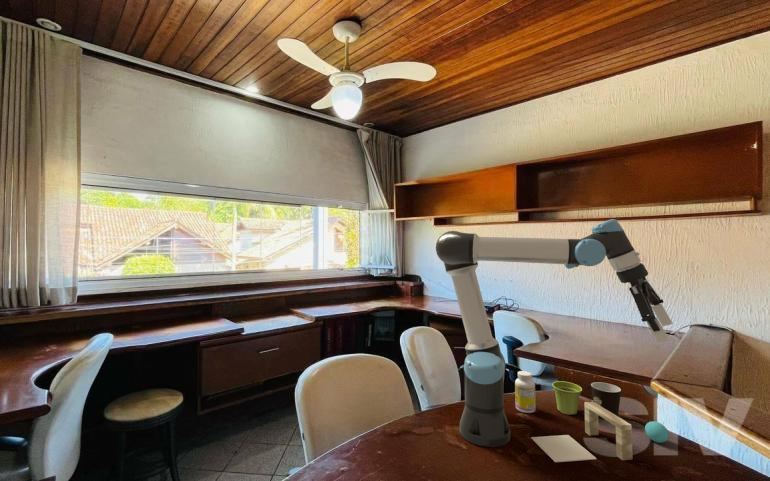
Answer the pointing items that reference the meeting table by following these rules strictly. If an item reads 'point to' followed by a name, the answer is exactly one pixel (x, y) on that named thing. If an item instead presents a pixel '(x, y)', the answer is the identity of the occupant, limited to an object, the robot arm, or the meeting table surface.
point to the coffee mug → (606, 396)
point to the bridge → (621, 426)
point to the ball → (656, 431)
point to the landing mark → (562, 448)
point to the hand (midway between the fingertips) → (665, 332)
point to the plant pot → (567, 396)
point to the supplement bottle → (525, 392)
